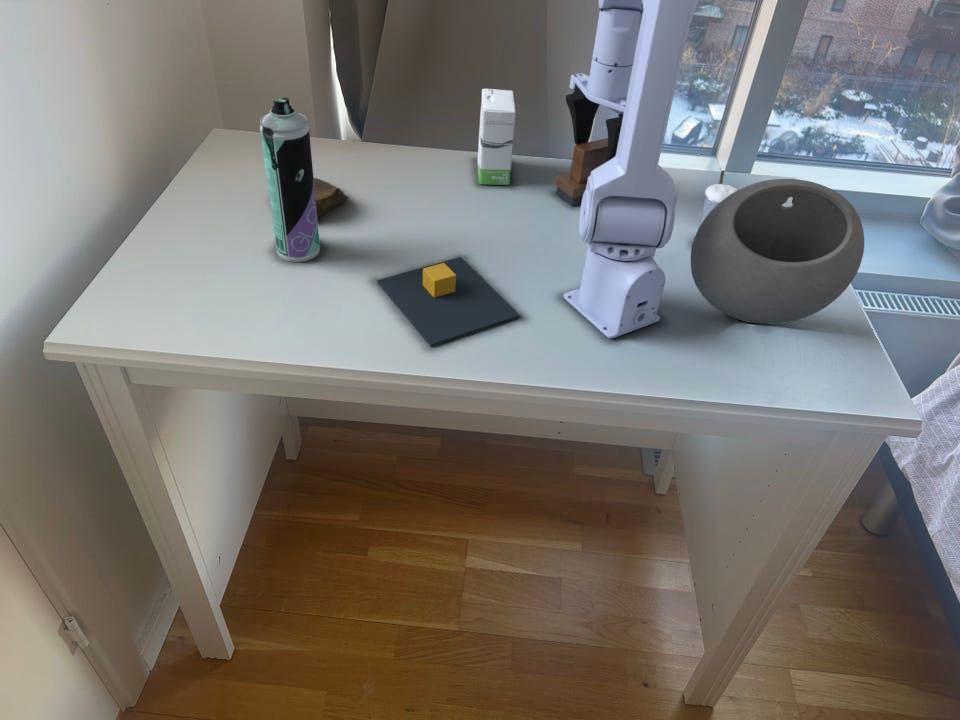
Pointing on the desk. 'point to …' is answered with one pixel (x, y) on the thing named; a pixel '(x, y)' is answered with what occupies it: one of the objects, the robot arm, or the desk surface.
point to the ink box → (496, 136)
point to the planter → (777, 251)
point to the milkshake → (715, 196)
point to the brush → (581, 170)
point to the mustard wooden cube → (439, 280)
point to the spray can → (290, 182)
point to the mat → (448, 303)
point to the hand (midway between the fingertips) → (596, 153)
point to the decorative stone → (327, 196)
